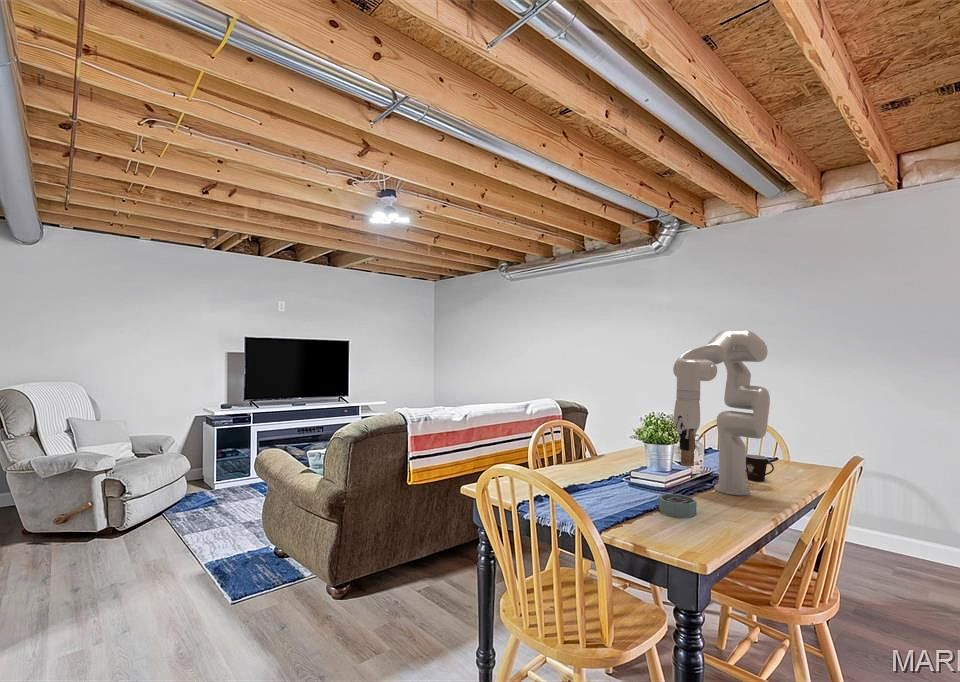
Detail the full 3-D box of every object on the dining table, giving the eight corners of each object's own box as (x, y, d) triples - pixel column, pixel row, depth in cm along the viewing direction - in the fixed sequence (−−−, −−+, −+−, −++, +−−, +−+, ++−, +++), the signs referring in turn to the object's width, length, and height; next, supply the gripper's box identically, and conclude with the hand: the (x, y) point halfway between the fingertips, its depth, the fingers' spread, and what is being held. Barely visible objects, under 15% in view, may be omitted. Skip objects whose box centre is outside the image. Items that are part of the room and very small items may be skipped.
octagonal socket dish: (671, 504, 175) (671, 491, 175) (701, 513, 166) (701, 500, 166) (653, 510, 168) (653, 497, 168) (683, 519, 159) (683, 506, 159)
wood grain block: (685, 463, 169) (685, 429, 169) (693, 465, 167) (694, 430, 167) (681, 465, 167) (681, 430, 167) (689, 466, 165) (689, 431, 165)
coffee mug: (740, 477, 215) (741, 454, 215) (760, 477, 214) (760, 454, 214) (754, 484, 203) (754, 460, 203) (775, 485, 203) (775, 460, 203)
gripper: (689, 394, 176) (689, 445, 175) (665, 395, 165) (664, 450, 165) (710, 395, 170) (709, 448, 169) (686, 397, 159) (685, 454, 159)
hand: (687, 448), depth 167 cm, fingers closed on wood grain block, 3 cm apart
